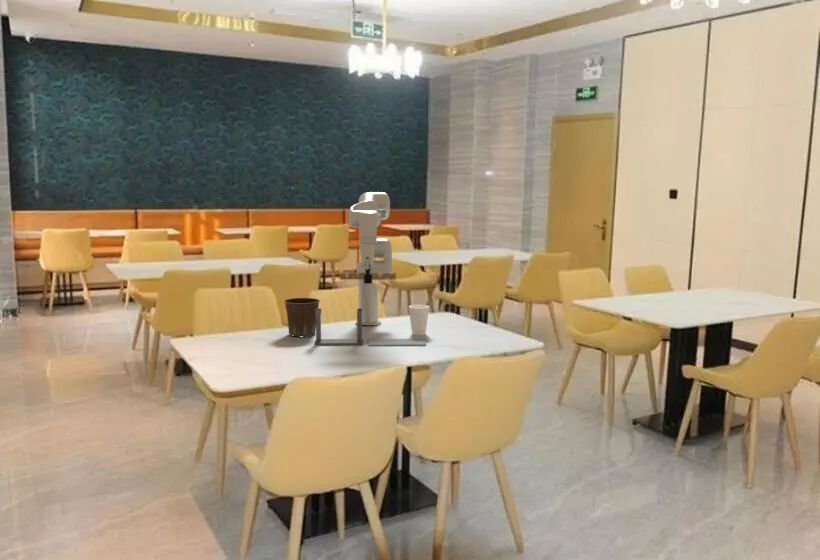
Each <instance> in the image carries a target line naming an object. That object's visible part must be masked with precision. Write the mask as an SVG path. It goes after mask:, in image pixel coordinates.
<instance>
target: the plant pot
mask: <svg viewBox="0 0 820 560" xmlns="http://www.w3.org/2000/svg"><path fill="white" fill-rule="evenodd" d="M320 301H321V300H320V299H318V298H312V297H295V298H294V297H293V298H287V299H284V305H285V311H286V316H287V317H286V318H287V327H288V335H289V334H291V335H294V336H293V337H297V336H308V337H312V336H314V335H313V334H315V335H316V318H315V311H316V309H319V303H320ZM311 335H312V336H311Z"/></svg>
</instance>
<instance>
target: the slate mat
mask: <svg viewBox="0 0 820 560" xmlns="http://www.w3.org/2000/svg"><path fill="white" fill-rule="evenodd" d="M413 345H415V346H413ZM416 345H417V346H418V347H420V346H421V345H423V346H421V347H424V346H425V347H426V346H427V342H426V339H425V338H369V339H368V347H417V346H416Z"/></svg>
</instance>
